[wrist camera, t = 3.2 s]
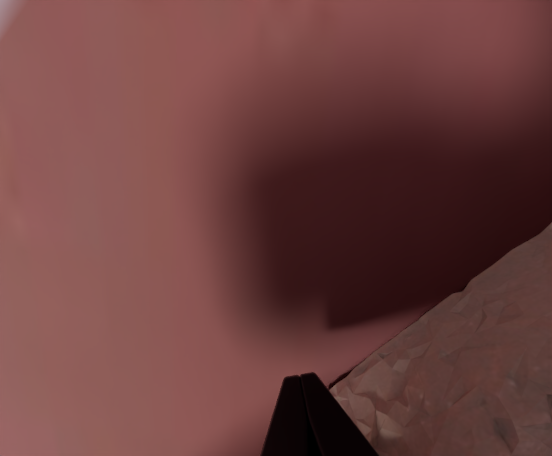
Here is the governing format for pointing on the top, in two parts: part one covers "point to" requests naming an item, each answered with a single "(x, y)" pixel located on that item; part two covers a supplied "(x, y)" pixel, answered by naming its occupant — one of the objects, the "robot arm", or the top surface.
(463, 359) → the brick
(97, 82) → the top surface
